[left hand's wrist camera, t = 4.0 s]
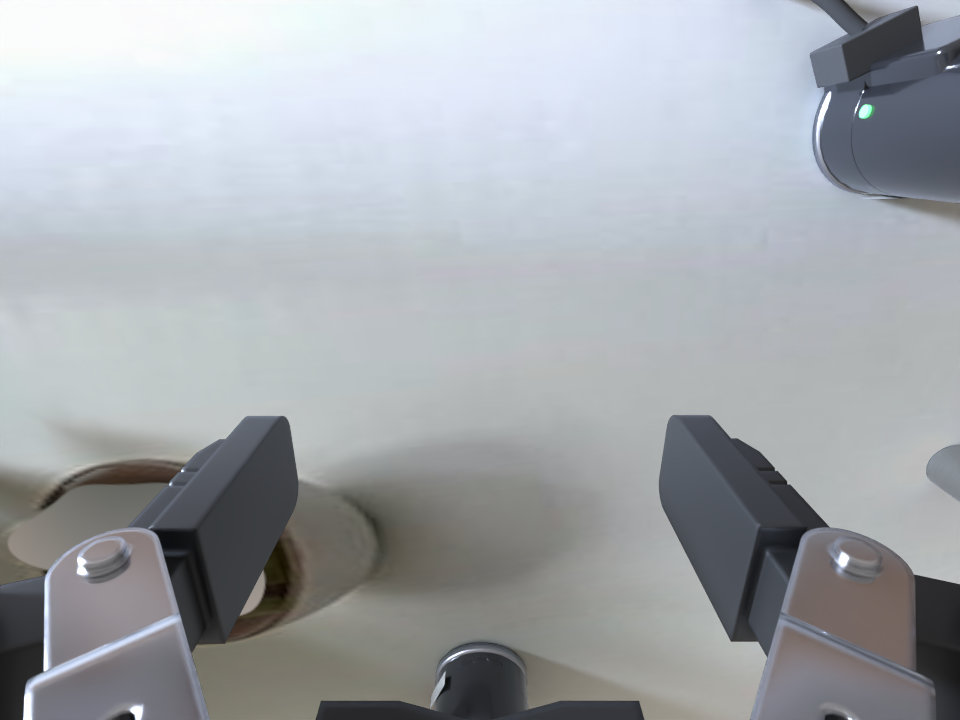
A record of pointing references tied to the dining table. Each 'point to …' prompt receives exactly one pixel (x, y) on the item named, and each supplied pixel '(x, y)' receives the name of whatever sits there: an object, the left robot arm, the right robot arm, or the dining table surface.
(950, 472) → the slim metal bottle
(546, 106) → the dining table surface
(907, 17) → the right robot arm
